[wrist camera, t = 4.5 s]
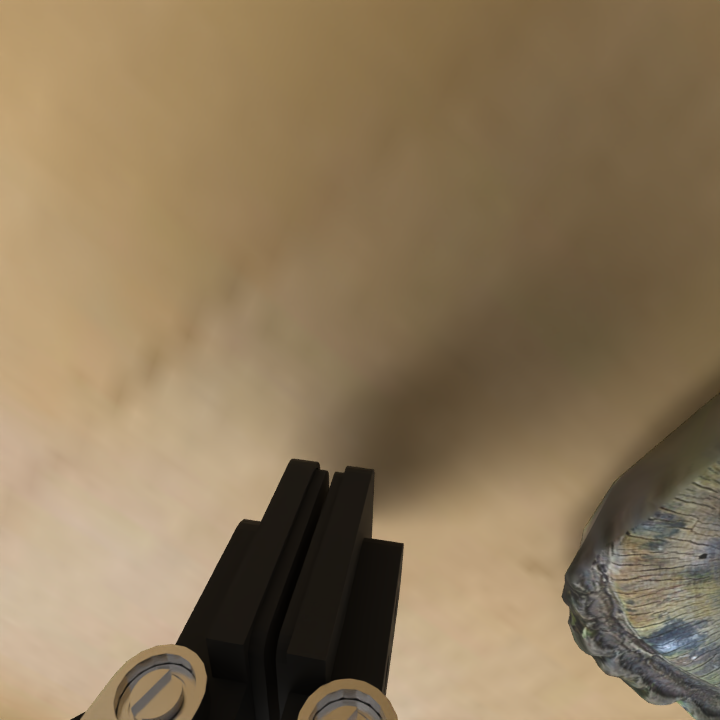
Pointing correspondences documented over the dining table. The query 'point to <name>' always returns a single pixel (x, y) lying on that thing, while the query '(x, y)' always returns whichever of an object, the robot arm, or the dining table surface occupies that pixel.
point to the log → (657, 572)
